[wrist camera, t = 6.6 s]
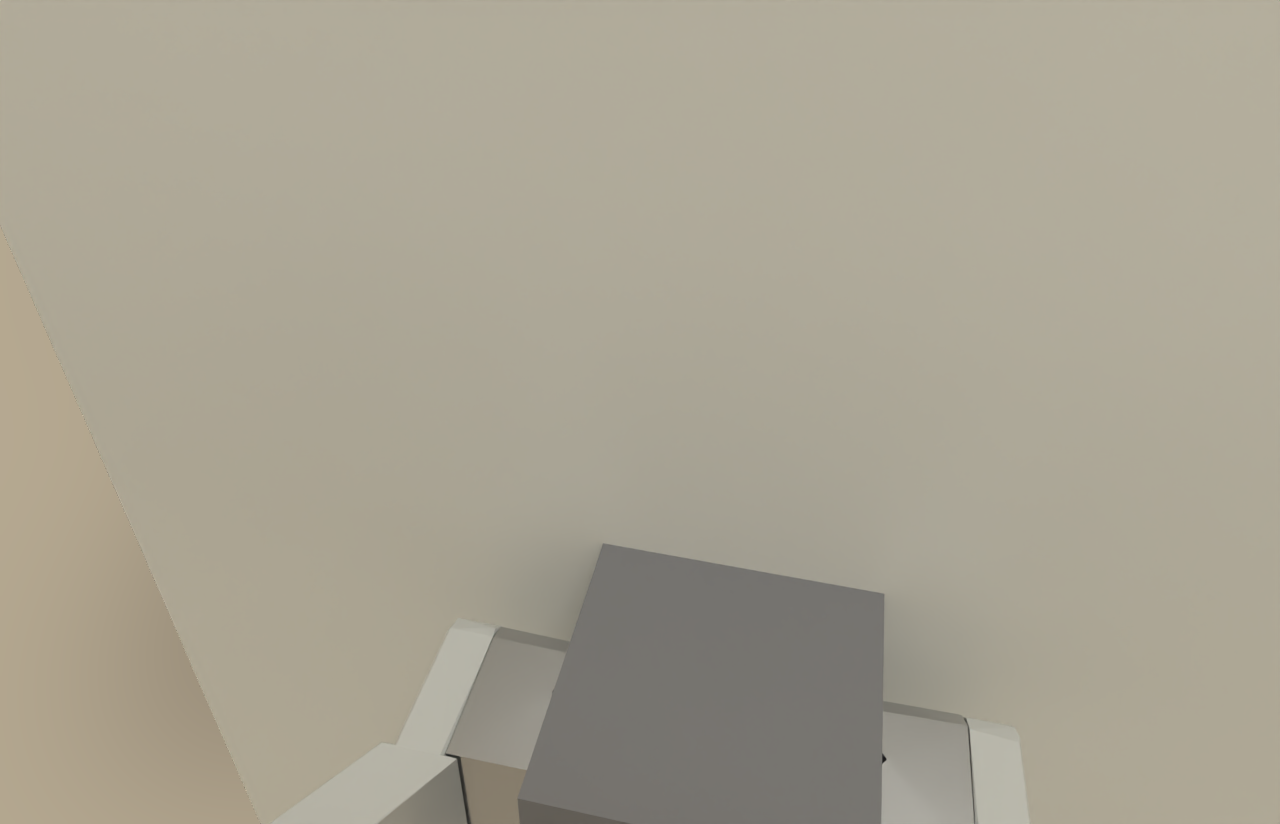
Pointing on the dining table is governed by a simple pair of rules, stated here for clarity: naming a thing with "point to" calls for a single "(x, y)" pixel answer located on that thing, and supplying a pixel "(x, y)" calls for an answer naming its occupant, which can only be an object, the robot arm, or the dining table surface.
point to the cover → (687, 377)
